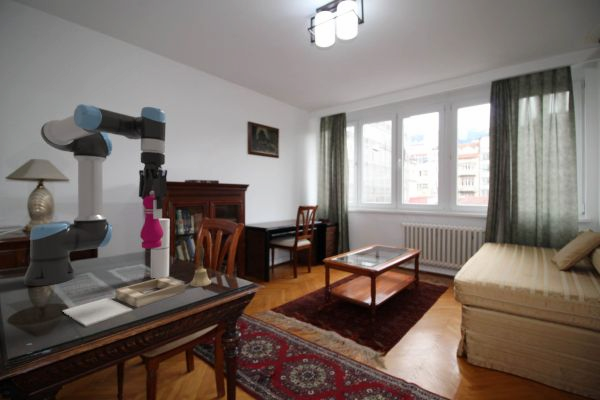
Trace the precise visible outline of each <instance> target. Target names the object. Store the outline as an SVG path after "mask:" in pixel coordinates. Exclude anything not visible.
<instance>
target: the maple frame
mask: <svg viewBox="0 0 600 400" xmlns="http://www.w3.org/2000/svg"><path fill="white" fill-rule="evenodd" d="M156 288H159V289H158V290H155V291H152V292H151V291H150V290H153V289H156ZM146 291H150V292H148V293H142V292H146ZM185 291H186V283H184V282H181V281H177V280H173V279H170V278H167V277H165V278H164V277H161V278H157V279H153V278H152V279H150V280H145V281H143V282H139V283H134V284H131V285H127V286H122V287H120V288H119V287H118V288H116V289H115V299H117V300H119V301H121V302H123V303H126V304H128V305H131V306H132V307H135V308H141V307H144V306H146V305H149V304H152V303H156V302H158V301H161V300H165V299H167V298H171V297H173V296H176V295H179V294H182V293H185Z"/></svg>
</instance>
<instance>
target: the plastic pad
mask: <svg viewBox="0 0 600 400" xmlns="http://www.w3.org/2000/svg"><path fill="white" fill-rule="evenodd" d="M132 311H133V308H132V307H129V306H126V305H124V304H122V303H120V302H118V301H116V300H113V299H111V298H109V297H106V298H101V299H98V300H95V301H91V302H87V303H84V304H80V305H77V306H73V307H70V308H65V309H63V310H62V313H63V312H64V314H65V315H67V316H68V315H69V317H70V318H71V317H72V318H71V319H73V320H74V321H76V322H78V323H79V324H81V325H83V326H84V327H89V326H92V325H95V324H98V323H101V322H103V321H106V320H109V319H112V318H116V317H118V316H121V315H124V314H126V313H127V314H128V313H131V312H132Z"/></svg>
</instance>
